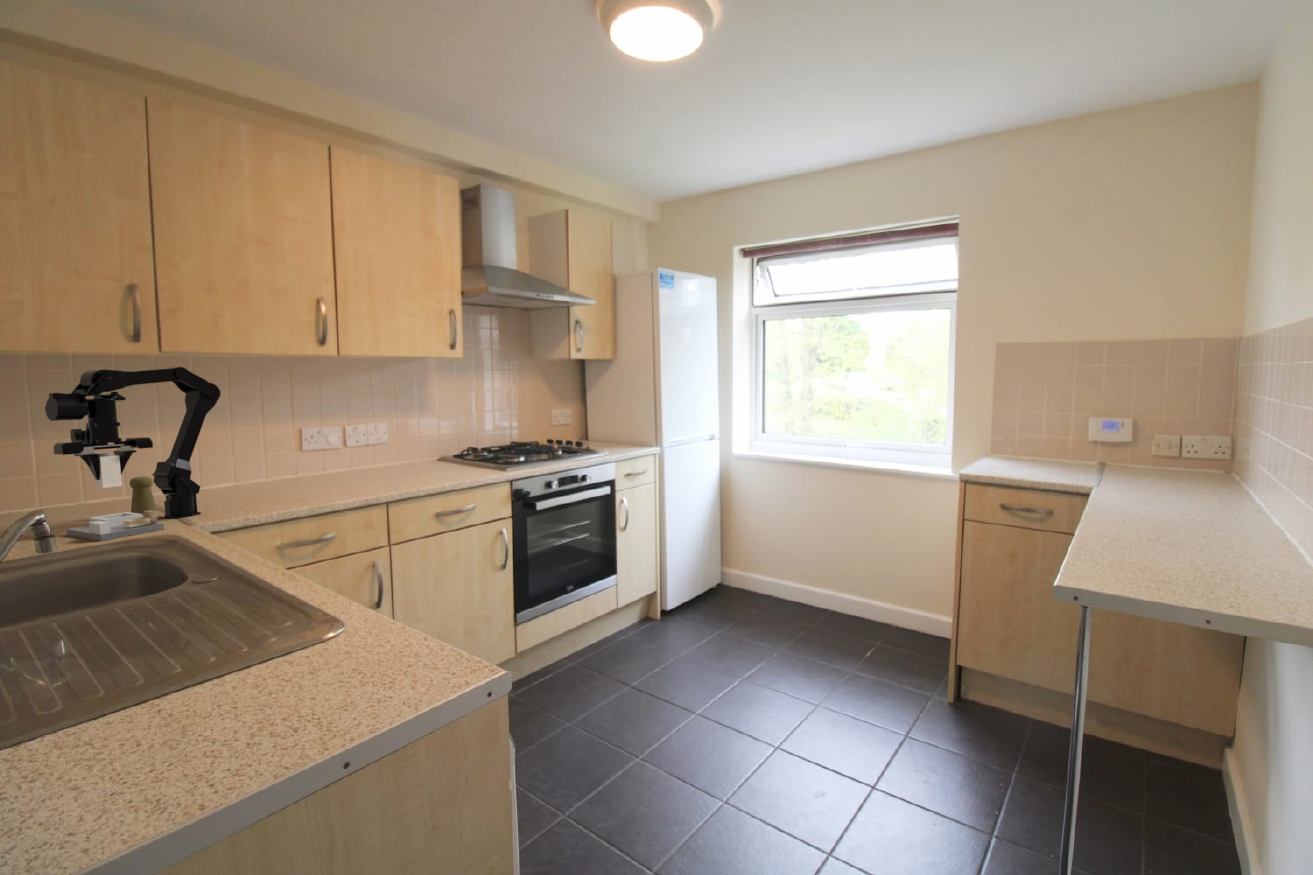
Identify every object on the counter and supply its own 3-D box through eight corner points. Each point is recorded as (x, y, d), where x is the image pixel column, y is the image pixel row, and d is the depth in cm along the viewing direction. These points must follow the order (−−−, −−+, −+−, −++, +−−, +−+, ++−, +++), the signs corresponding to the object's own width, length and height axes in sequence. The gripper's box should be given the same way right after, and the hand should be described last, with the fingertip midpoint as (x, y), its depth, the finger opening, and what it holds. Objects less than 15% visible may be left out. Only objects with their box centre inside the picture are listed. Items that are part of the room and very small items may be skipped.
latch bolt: (151, 521, 162) (150, 510, 162) (157, 522, 161) (156, 510, 161) (123, 526, 157) (122, 514, 157) (129, 527, 156) (128, 515, 155)
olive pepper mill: (148, 511, 187) (144, 475, 186) (162, 512, 185) (159, 475, 184) (125, 515, 181) (122, 478, 180) (140, 516, 179) (136, 478, 178)
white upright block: (114, 485, 166) (111, 452, 165) (121, 485, 164) (119, 453, 163) (95, 487, 162) (92, 454, 162) (102, 488, 160) (99, 454, 160)
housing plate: (128, 524, 169) (127, 509, 168) (163, 529, 161) (162, 514, 161) (66, 534, 157) (65, 519, 157) (101, 541, 149) (99, 524, 149)
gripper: (131, 416, 174) (136, 472, 175) (41, 420, 157) (47, 482, 158) (151, 416, 168) (156, 474, 170) (60, 420, 152) (66, 484, 153)
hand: (108, 478), depth 163 cm, fingers closed on white upright block, 4 cm apart
